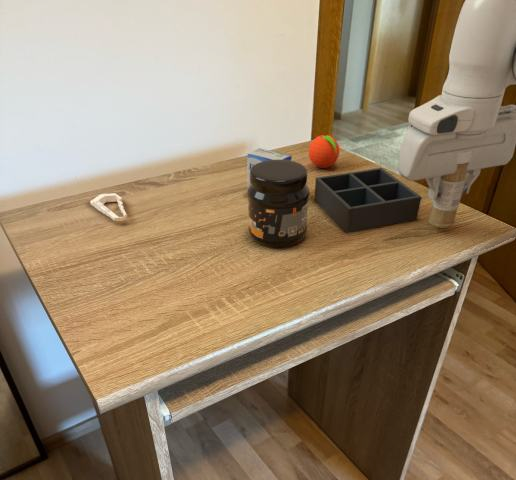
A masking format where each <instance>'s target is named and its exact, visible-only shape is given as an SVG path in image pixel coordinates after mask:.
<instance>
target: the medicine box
mask: <svg viewBox="0 0 516 480" xmlns="http://www.w3.org/2000/svg"><path fill="white" fill-rule="evenodd" d="M268 160H289V161H292V155H289V154H285V153H281V152H279V151H278V152H277V151H274V150H269V149H265V148H260V147H259V148H255V149H253V150H251V151H249V152H248V153H247V154H246V165H247V166H246V167H247V168H246V169H247V171H246V172H247V175H246V176H247V188H248V187H249V185H250V184H251V183H250V169H251V168H252V167H253V166H254V165H255V164H257V163H260V162H263V161H268Z"/></svg>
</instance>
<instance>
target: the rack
mask: <svg viewBox="0 0 516 480" xmlns="http://www.w3.org/2000/svg"><path fill="white" fill-rule="evenodd" d="M314 182H315V183H314V198H313V199H314V201H315V202H316V203H317V204H318V205H319V206H320V207H321V209H323V210H324V212H326V213H327V214H328V215H329V216H330V218H332V219H333V220H334V221H335V223H336V224H337V225H338V226H339V227H340V228H341V229H342V230H343V231H344V232H345V233H352V232H356V231H363V230H368V229H373V228H379V227H384V226H390V225H395V224H400V223H406V222H412V221H417V219H418V215H419V210H420V206H421V201H422V196H421V195H420V194H419V193H417V192H416V191H414V190H413V189H412V188H410V187H409V186H407V185H406V184H404V182H402V181H400V180H399V179H398V178H397V177H395V176H393V175H392V174H391V173H390V172H388V171H387V170H385V169H384V168H383V167H379V168H378V167H377V168H371V169H370V168H369V169H364V170H358V171H357V170H356V171H351V172H344V173H337V174H329V175H325V176H318V177H315V181H314Z"/></svg>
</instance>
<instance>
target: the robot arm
mask: <svg viewBox="0 0 516 480" xmlns="http://www.w3.org/2000/svg"><path fill="white" fill-rule="evenodd" d="M453 33H454V34H453V36H452V41H451V46H450V50H449V55H448V62H449V65H448V66H449V69H448V74H447V77H446V79H445V81H444V83H443V85H442V90H441V94H440V95H437V96H436V97H434V98H432V99H431V100H429V101H427V102H426V103H423V104H422V105H420V106H417V107H415V108H413V109H412V110H410V112H409V114H408V118H407V119H408V124H409V125H411V127H409V128H408V129H407V131H405V134H404V136H403V139H402V142H401V146H400V150H399V155H398V160H397V171H398V173H399V175H400V176H402V177H403V178H404V179H405V180H406V181H410V182H414V181H421V180H425V181H426V183H427V185H428V193H427V197H428V199H430V200H431V201H433V200H437V199H441V194H442V192H443V190H442V189H440V188H438V185H437V182H439V181H440V178H441V176H443V175H449V174H453V173H455V171H456V170H457V166H458V165H459V164H456V161H457V157H458V154H459V153H460V152H465V151H472V157H471V161H470V162H468V163H469V164H468V166H467V170H466V171H467V173H466V177H465V183H464V187H463V191H462V195H461V196H463V195H468V194H469V193H470V190H471V186H472V185H473V184H474V182H475V181H476V180H477V178H478V177H479V176H480V174H481V170H482V169H487V168H493V167H499V166H505V165H507V164H509V162H510V161H511V160H512V159H513V157H514V153H515V148H516V104H508V105H502V103H503V100H504V99H503V98H504V95H505V93H506V88H508V87H509V86H511V85H512V86H513V85H514V86H515V85H516V0H464V2H463V4H462V7H461V9H460V12H459V15H458V19H457V22H456V25H455V29H454V32H453Z"/></svg>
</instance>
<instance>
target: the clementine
mask: <svg viewBox="0 0 516 480" xmlns="http://www.w3.org/2000/svg"><path fill="white" fill-rule="evenodd" d="M339 156H340V146H339V142H338V141H337V140H336V139H335V138H334V137H333V136H331V135H329V134H321V135H318V136H316V137H315V138H313V140H311V142H310V144H309V146H308V157H309V161H310V162H311V163H312V164H313V166H315V167H317V168H321V169H326V168H329V167H331V166H333V165H334V164H335V163H336V162H337V160H338V159H339Z"/></svg>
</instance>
